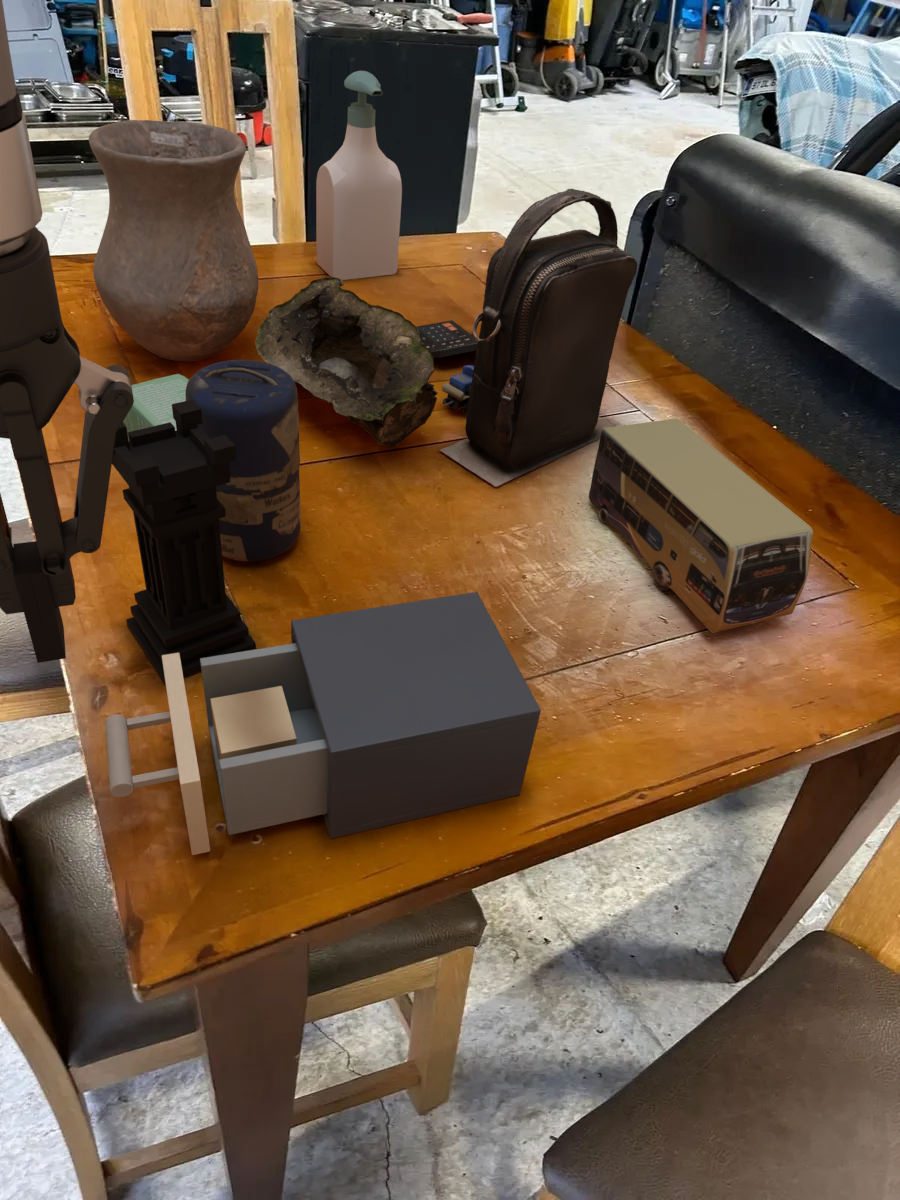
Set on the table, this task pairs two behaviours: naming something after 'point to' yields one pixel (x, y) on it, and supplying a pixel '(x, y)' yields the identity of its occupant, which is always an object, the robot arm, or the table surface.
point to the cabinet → (415, 710)
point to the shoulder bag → (544, 342)
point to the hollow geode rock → (353, 358)
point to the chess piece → (180, 540)
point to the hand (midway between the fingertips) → (50, 644)
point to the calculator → (446, 339)
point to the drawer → (247, 782)
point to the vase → (174, 237)
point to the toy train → (459, 389)
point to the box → (155, 402)
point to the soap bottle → (358, 197)
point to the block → (251, 722)
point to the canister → (254, 454)
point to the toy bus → (701, 523)
